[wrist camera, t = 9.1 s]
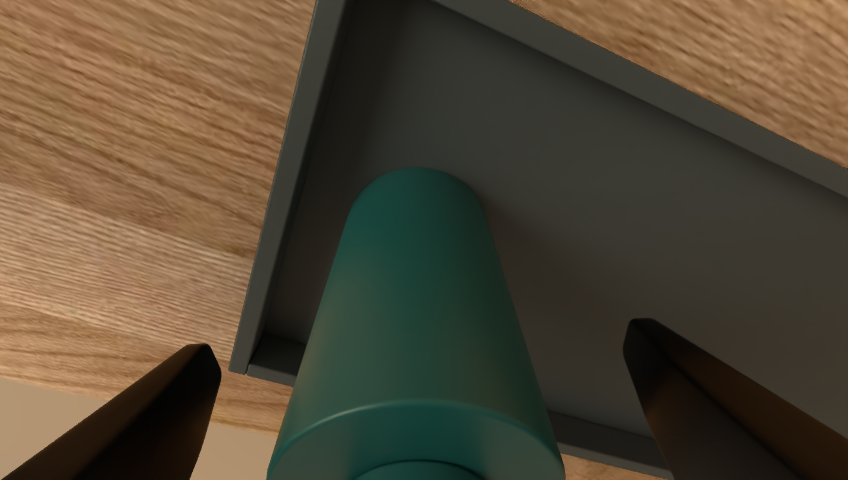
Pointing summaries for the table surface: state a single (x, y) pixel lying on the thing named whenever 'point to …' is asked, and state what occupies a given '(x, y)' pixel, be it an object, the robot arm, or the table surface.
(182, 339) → the table surface
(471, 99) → the tray
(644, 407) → the robot arm
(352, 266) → the bottle
